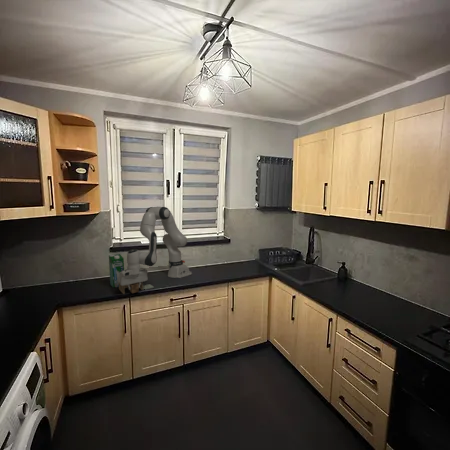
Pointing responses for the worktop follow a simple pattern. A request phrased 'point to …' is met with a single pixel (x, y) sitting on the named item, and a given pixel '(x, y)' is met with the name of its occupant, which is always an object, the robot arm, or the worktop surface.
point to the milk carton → (115, 269)
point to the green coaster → (147, 286)
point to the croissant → (122, 288)
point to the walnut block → (134, 287)
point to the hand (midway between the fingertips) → (134, 288)
